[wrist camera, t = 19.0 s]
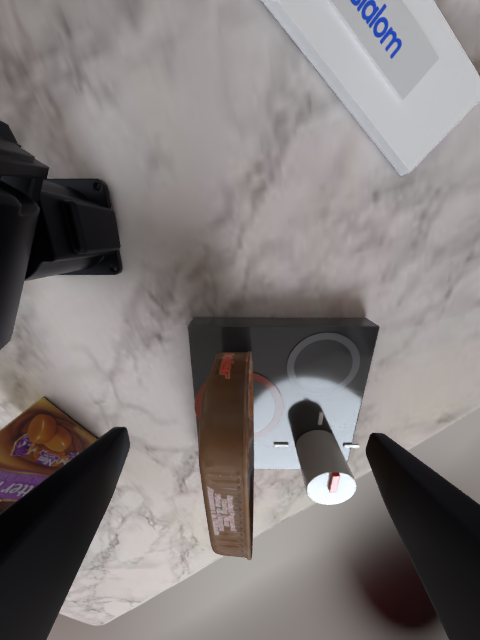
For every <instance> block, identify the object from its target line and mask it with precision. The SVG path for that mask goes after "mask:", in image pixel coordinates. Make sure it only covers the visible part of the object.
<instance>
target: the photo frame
mask: <svg viewBox="0 0 480 640" xmlns="http://www.w3.org/2000/svg"><path fill="white" fill-rule="evenodd" d="M261 1H262V2H263V3H264V4H265V6H266V7H267V8H268V9H269V11H270V12H271V13H272V14H273V16H274V17H275V18H276V19H277V21H278V22H279V23H280V25H281V26H282V27H283V28H284V30H285V31H286V32H287V33H288V35H289V36H290V37H291V38H292V40H293V41H294V42H295V43H296V45H297V46H298V47H299V48H300V50H301V51H302V52H303V54H304V55H305V56H306V57H307V59H308V60H309V61H310V62H311V64H312V65H313V66H314V67H315V69H316V70H317V71H318V72H319V74H320V75H321V76H322V77H323V79H324V80H325V81H326V83H327V84H328V85H329V86H330V88H331V89H332V90H333V91H334V93H335V94H336V95H337V96H338V98H339V99H340V100H341V101H342V103H343V104H344V105H345V106H346V108H347V109H348V110H349V112H350V113H351V114H352V115H353V117H354V118H355V119H356V120H357V122H358V123H359V124H360V125H361V127H362V128H363V129H364V130H365V132H366V133H367V134H368V135H369V137H370V138H371V139H372V141H373V142H374V143H375V144H376V146H377V147H378V148H379V149H380V151H381V152H382V153H383V154H384V156H385V157H386V158H387V159H388V161H389V162H390V163H391V164H392V166H393V167H394V168H395V170H396V171H397V172H398V173H399V175H400V176H403V175H405V174H408V173H410V172H411V171H412V170H413V169H414V168H415V167H416V166H417V165H418V164H419V163H420V162H421V161H422V160H423V159H424V158H425V157H426V156H427V155H428V154H429V153H430V152H431V151H432V150H433V149H434V148H435V147H436V146H437V145H438V143H439V142H440V141H441V140H442V139H443V138H444V137H445V136H446V135H447V134H448V133H449V132H450V131H451V130H452V129H453V128H454V127H455V126H456V125H457V124H458V123H459V122H460V121H461V120H462V119H463V118H464V117H465V116H466V115H467V113H468V112H469V111H470V110H471V109H472V108H473V107H474V106H475V105H476V104H477V103H478V102H479V101H480V76H479V74H478V72H477V71H476V69H475V67H474V66H473V64H472V62H471V61H470V59H469V58H468V56H467V54H466V53H465V51H464V49H463V48H462V46H461V44H460V43H459V41H458V39H457V38H456V36H455V35H454V33H453V31H452V30H451V28H450V26H449V25H448V23H447V21H446V20H445V18H444V16H443V15H442V13H441V12H440V10H439V8H438V7H437V5H436V3H435V2H434V0H261Z"/></svg>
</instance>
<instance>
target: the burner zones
mask: <svg viewBox="0 0 480 640" xmlns="http://www.w3.org/2000/svg"><path fill="white" fill-rule="evenodd" d="M359 365H360V355H359V351H358V349H357V347H356V346H355V344H354V343H353V342H352V341H351V340H350V339H348V338H347V337H345V336H343V335H341V334H338V333H333V332H322V333H317V334H314V335H311V336H309V337H307V338H305V339H303V340H302V341H301V342H299V343H298V344H297V345H296V346H295V347H294V348H293V350H292V351H291V353H290V355H289V357H288V360H287V374H288V377H289V379H290V381H291V382H292V384H293V385H294V386H295V387H296V388H297V389H299V390H300V391H302V392H305V393H307V394H311V395H327V394H331V393H334V392H337V391H339V390H341V389H342V388H344V387H345V386H347V385H348V384H349V383H350V382H351V381H352V380H353V378H354V377H355V375H356V374H357V372H358V369H359ZM205 384H206V382H205V383H204V384H203V385H202V386H201V388H200V389H199V391H198V393H197V396H196V399H195V412H196V415H197V418H198V420H200V411H201V402H202V396H203V391H204V387H205ZM253 402H254V439H256V438H259V437H261V436H263V435H265V434H267V433H268V432H270V431H271V430H272V429H273V428H274V427H275V426H276V425H277V424H278V422H279V420H280V418H281V416H282V413H283V400H282V396H281V394H280V392H279V390H278V388H277V387H276V386H275V385H274V384H273V383H272V382H271V381H270V380H269V379H267V378H266V377H264V376H262V375H260V374H258V373H255V372H253Z"/></svg>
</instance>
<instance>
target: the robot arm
mask: <svg viewBox="0 0 480 640" xmlns="http://www.w3.org/2000/svg"><path fill="white" fill-rule="evenodd" d="M48 170H49V167H48V166H46V165H44V164H43V163H41V162H39V161H37V160H36V159H35V157H34V156H33V155H31V154H30V153H28V152H27V151H25V150H24V149H22V148H21V146H20V145H19V144H18V143H17V141H16V139H15V137H14V135H13V134H12V132H11V130H10V128H9V126H8V125H7V124H6V123H4V122H2V121H0V350H1V349H2V348H3V347H4V346H5V345H6V344H7V343H8V342H9V341H10V340H11V336H12V333H13V329H14V325H15V320H16V316H17V311H18V307H19V302H20V298H21V293H22V289H23V284H24V281H28V280H33V279H37V278H42V277H47V276H52V275H116V274H119V273H121V272H122V262H121V257H120V252H119V249H120V241H119V235H118V230H117V224H116V219H115V213H114V211H113V210H112V208H111V203H110V197H109V192H108V187H107V185H106V184H105V182H103V181H101V180H99V179H47V175H48ZM99 184H100V186H101V190H100V191H98V189H97V186H98V185H99ZM113 265H115V266H116V268H117V270H116V271H115V270H114V269H113ZM129 448H130V441H129V436H128V431H127V428H126V427H114V428H112V429H111V430H109V431H108V432H107V433H105V434H104V435H103V436H102V437H100V438H99V439H98V440H96V441H95V442H94V443H92V444H91V445H90V446H88V447H87V448H86V449H84V450H83V451H82V452H80V453H79V454H78V455H76V456H75V457H74V458H73V459H71V460H70V461H69V462H67V463H66V464H65V465H63V466H62V467H61V468H59V469H58V470H57V471H55V472H54V473H53V474H51V475H50V476H49V477H48V478H46V479H45V480H44V481H42V482H41V483H40V484H38V485H37V486H36V487H34V488H33V489H32V490H30V491H29V492H28V493H26V494H25V495H24V496H23V497H21V498H20V499H19V500H17V501H16V502H15V503H13V504H12V505H11V506H9V507H8V508H7V509H5V510H4V511H3V512H1V513H0V640H46V639H47V637H48V635H49V633H50V631H51V629H52V626H53V624H54V622H55V620H56V618H57V615H58V613H59V611H60V609H61V607H62V605H63V603H64V600H65V598H66V596H67V594H68V592H69V590H70V587H71V585H72V583H73V581H74V579H75V577H76V574H77V572H78V570H79V568H80V566H81V564H82V561H83V559H84V557H85V555H86V553H87V551H88V549H89V546H90V544H91V542H92V540H93V538H94V536H95V533H96V531H97V529H98V527H99V525H100V523H101V520H102V518H103V516H104V514H105V512H106V510H107V507H108V505H109V503H110V501H111V498H112V496H113V493H114V491H115V488H116V485H117V482H118V480H119V477H120V474H121V471H122V468H123V466H124V463H125V460H126V457H127V454H128V452H129ZM366 456H367V458H368V461H369V464H370V466H371V469H372V472H373V474H374V477H375V480H376V482H377V485H378V488H379V490H380V493H381V496H382V498H383V501H384V503H385V505H386V507H387V510H388V512H389V514H390V516H391V518H392V520H393V522H394V525H395V527H396V529H397V531H398V533H399V535H400V537H401V539H402V541H403V543H404V546H405V548H406V550H407V552H408V554H409V556H410V558H411V560H412V562H413V564H414V566H415V569H416V571H417V573H418V575H419V577H420V579H421V581H422V583H423V586H424V588H425V590H426V592H427V594H428V596H429V598H430V600H431V602H432V604H433V606H434V608H435V611H436V613H437V615H438V617H439V619H440V621H441V623H442V625H443V628H444V630H445V632H446V634H447V636H448V638H449V640H480V505H479V504H478V503H477V502H475V501H474V500H472V499H471V498H470V497H469V496H467V495H466V494H465V493H463V492H462V491H461V490H459V489H458V488H456V487H455V486H454V485H452V484H451V483H450V482H448V481H447V480H446V479H444V478H443V477H442V476H440V475H439V474H438V473H436V472H435V471H434V470H432V469H431V468H430V467H428V466H427V465H425V464H424V463H423V462H421V461H420V460H419V459H417V458H416V457H414V456H413V455H412V454H411V453H409V452H408V451H407V450H405V449H404V448H403V447H401V446H400V445H399V444H397V443H396V442H394V441H393V440H392V439H390V438H389V437H388V436H386V435H385V434H383V433H372V434H371V435H370V437H369V440H368V443H367V446H366Z"/></svg>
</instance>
